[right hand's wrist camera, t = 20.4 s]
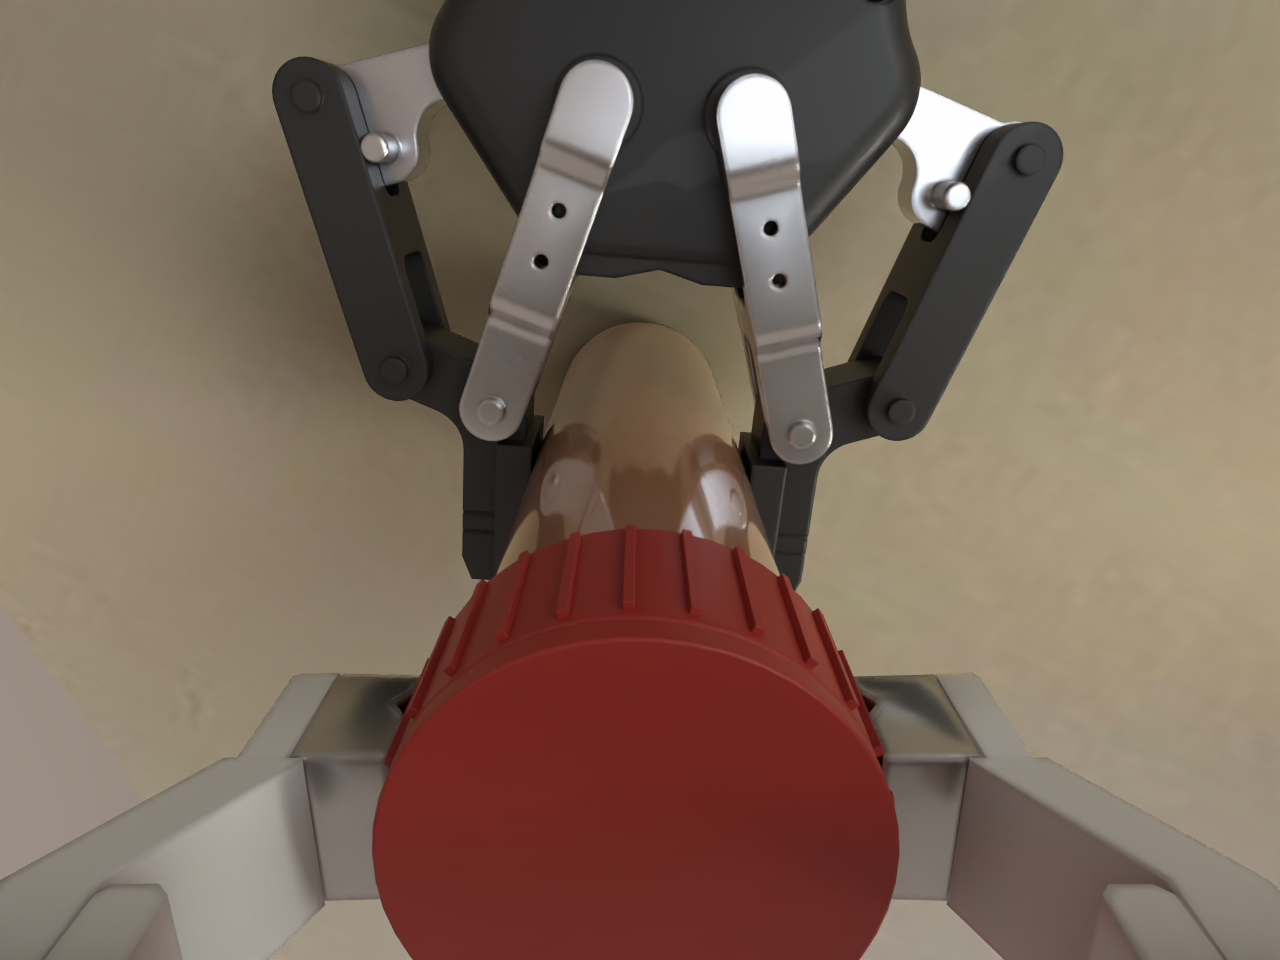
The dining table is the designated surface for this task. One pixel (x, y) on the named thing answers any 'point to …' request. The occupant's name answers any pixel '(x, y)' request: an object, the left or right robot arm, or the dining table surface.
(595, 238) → the left robot arm
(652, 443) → the jar
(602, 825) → the lid
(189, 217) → the dining table surface
